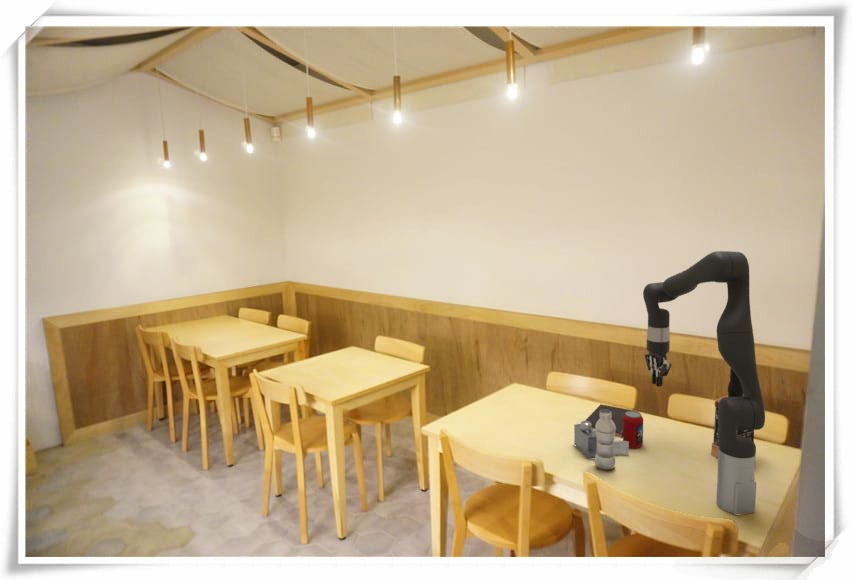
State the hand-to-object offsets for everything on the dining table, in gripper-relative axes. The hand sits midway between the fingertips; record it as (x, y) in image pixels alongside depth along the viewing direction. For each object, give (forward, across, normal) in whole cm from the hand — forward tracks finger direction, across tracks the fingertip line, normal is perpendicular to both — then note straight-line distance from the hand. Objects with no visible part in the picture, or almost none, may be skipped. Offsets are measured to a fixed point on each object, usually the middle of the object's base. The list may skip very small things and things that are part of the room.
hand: (657, 384), depth 198 cm
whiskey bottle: (+22, -17, -18) cm, 33 cm away
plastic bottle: (+22, -12, +26) cm, 36 cm away
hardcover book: (+23, +20, +7) cm, 31 cm away
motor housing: (+22, 0, +22) cm, 31 cm away
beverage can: (+22, 0, +9) cm, 24 cm away
